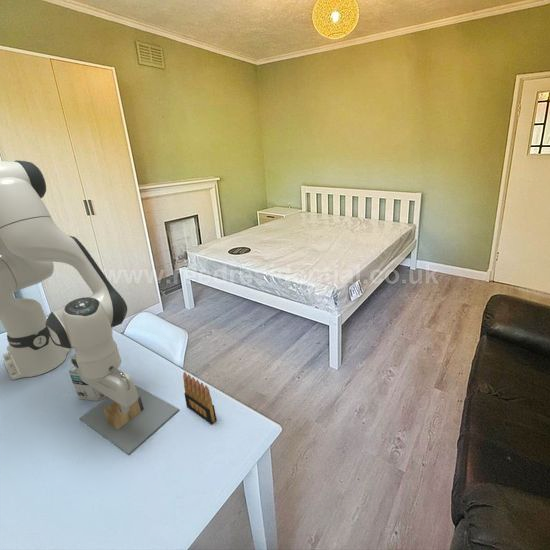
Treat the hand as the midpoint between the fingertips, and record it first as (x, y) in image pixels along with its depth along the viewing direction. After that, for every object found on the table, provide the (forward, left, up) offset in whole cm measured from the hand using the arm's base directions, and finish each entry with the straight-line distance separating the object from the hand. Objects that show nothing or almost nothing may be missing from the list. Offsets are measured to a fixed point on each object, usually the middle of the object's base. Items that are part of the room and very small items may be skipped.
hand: (114, 404), depth 85 cm
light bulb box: (-18, +5, -7) cm, 20 cm away
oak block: (0, -2, -4) cm, 4 cm away
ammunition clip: (+17, +13, -6) cm, 23 cm away
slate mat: (0, +3, -6) cm, 7 cm away
